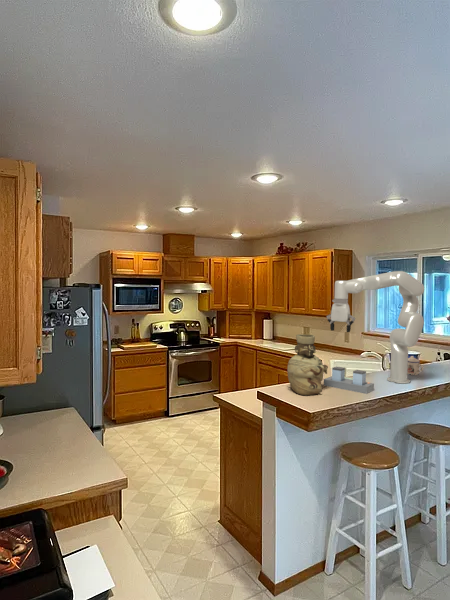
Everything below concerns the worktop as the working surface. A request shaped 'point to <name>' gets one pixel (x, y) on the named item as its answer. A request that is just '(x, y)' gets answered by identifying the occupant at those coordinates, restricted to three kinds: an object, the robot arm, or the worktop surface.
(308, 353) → the ceramic vessel
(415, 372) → the teacup with lid
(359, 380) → the twin plug
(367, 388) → the grey slotted holder
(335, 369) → the plug
